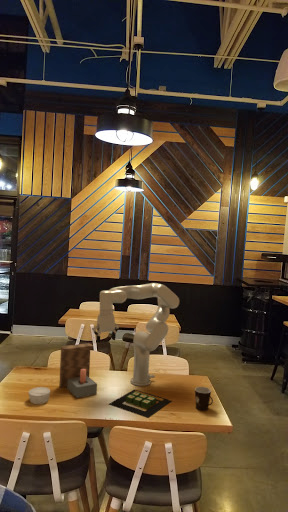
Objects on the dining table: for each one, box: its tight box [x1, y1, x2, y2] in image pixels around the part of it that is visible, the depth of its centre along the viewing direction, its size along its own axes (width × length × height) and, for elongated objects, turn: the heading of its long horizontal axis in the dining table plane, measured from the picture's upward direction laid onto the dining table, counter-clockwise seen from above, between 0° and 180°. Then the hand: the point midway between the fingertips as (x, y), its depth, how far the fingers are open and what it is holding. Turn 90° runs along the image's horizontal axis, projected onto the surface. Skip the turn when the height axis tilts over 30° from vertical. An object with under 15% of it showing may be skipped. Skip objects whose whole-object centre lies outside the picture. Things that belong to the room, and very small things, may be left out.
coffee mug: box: [194, 386, 214, 412], centre depth 200 cm, size 12×9×10 cm
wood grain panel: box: [58, 342, 94, 389], centre depth 223 cm, size 18×6×24 cm, turn 123°
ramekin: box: [28, 386, 51, 405], centre depth 201 cm, size 11×11×5 cm
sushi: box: [108, 389, 172, 419], centre depth 205 cm, size 25×25×4 cm
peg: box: [80, 369, 86, 384], centre depth 215 cm, size 3×3×12 cm
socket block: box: [66, 376, 98, 399], centre depth 216 cm, size 12×14×6 cm
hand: (106, 340), depth 219 cm, fingers open, 9 cm apart
